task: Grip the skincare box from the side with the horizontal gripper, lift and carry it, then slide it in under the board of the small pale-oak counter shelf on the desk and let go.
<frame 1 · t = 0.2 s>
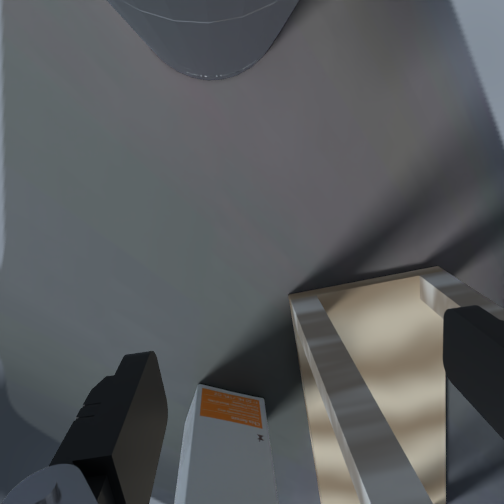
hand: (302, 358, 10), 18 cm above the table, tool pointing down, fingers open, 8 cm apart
oak counter shelf: (374, 415, 34), on the table
skincare box: (224, 406, 33), on the table
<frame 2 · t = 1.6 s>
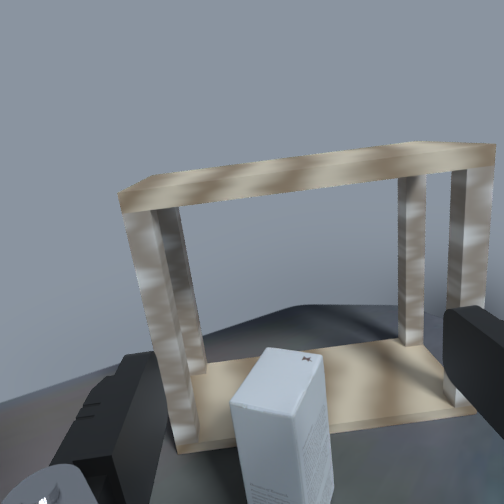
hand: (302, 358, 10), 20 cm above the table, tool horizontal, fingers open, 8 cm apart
oak counter shelf: (313, 390, 39), on the table
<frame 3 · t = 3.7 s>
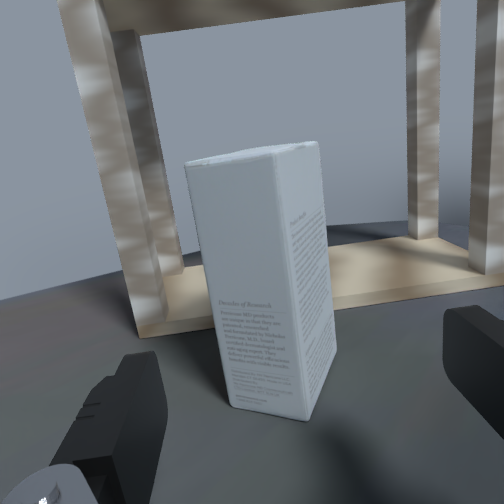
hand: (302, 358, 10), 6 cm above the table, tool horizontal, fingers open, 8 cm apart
oak counter shelf: (310, 281, 33), on the table
skincare box: (286, 382, 20), on the table
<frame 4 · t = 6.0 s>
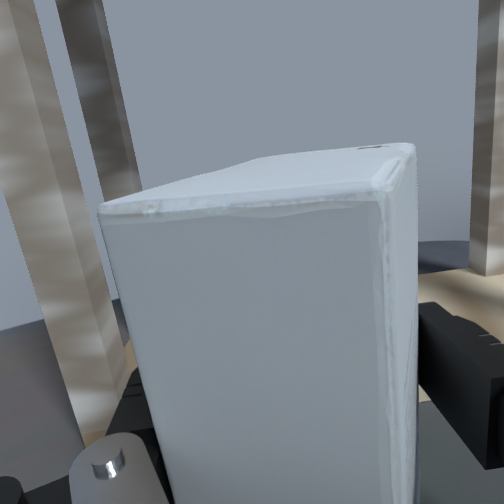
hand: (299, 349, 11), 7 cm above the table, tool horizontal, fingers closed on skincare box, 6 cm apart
oak counter shelf: (343, 341, 23), on the table
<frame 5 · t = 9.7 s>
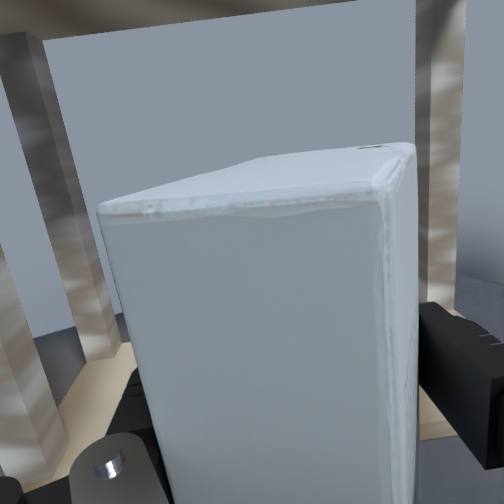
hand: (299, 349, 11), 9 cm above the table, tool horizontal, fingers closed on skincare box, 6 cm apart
oak counter shelf: (280, 381, 24), on the table
when the fingers open (9 cm above the table, at t = 13.5 s): skincare box drops 1 cm, resting on oak counter shelf.
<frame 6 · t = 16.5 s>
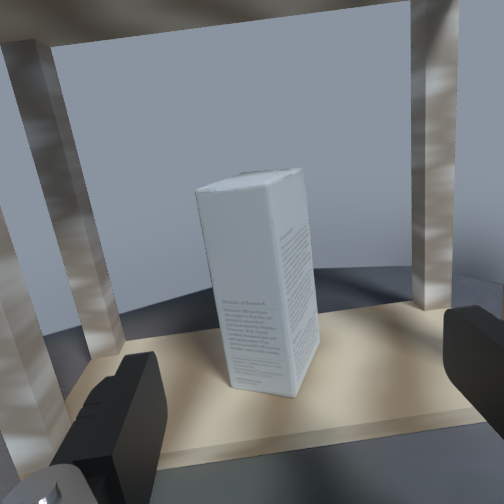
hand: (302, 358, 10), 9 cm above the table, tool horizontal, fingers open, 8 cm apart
oak counter shelf: (280, 376, 24), on the table
skincare box: (277, 368, 24), point 1 cm above the table, touching oak counter shelf
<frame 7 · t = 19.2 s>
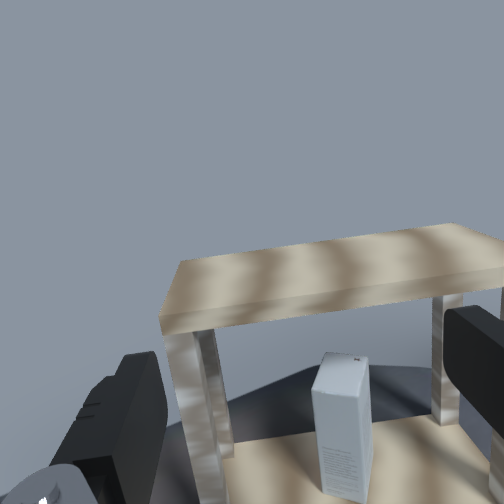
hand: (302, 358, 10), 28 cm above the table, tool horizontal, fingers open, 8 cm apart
oak counter shelf: (349, 480, 38), on the table
skincare box: (348, 475, 37), point 1 cm above the table, touching oak counter shelf
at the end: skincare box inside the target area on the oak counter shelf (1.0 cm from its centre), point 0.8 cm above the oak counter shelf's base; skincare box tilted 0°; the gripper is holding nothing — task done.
